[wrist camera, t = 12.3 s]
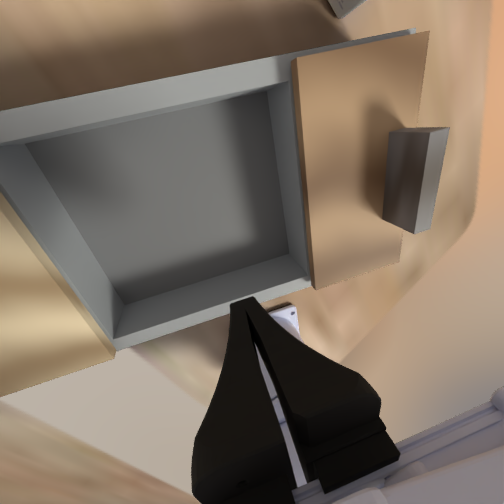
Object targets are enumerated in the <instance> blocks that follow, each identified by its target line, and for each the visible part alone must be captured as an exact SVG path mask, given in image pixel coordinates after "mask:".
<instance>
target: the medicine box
mask: <svg viewBox="0 0 504 504" xmlns="http://www.w3.org/2000/svg"><path fill="white" fill-rule="evenodd" d="M365 1H366V0H328V2H329V3H330V5H331V7H332V9H333V10H334V12H335V14H336V16H337V17H338V19H342V18H343V17H345V16H346V15H347V14H349V13H350V12H351V11H353V10H354V9H355V8H357V7H358V6H359V5H361V4H362V3H364V2H365Z"/></svg>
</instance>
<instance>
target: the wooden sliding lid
mask: <svg viewBox="0 0 504 504" xmlns="http://www.w3.org/2000/svg"><path fill="white" fill-rule="evenodd" d="M429 33H430V31H425V32H420V33H415V34H410V35H405V36H400V37H395V38H390V39H385V40H381V41H376V42H371V43H366V44H361V45H356V46H351V47H346V48H341V49H336V50H331V51H326V52H322V53H317V54H312V55H307V56H302V57H297V58H295V59H294V60H292V61H291V71H292V82H293V93H294V104H295V115H296V126H297V136H298V147H299V158H300V169H301V180H302V191H303V201H304V212H305V223H306V234H307V245H308V255H309V266H310V277H311V285H312V286H313V288H314V289H315V290H318V289H321V288H324V287H327V286H330V285H333V284H336V283H339V282H342V281H345V280H348V279H351V278H354V277H357V276H360V275H363V274H366V273H368V272H371V271H374V270H377V269H380V268H383V267H386V266H389V265H392V264H395V263H398V262H399V259H400V252H401V244H402V237H403V229H404V230H406V231H408V232H411V233H413V234H416V233H419V232H422V231H425V230H429V229H430V227H431V222H432V217H433V211H434V206H435V201H436V196H437V191H438V186H439V180H440V175H441V170H442V165H443V160H444V155H445V149H446V144H447V139H448V134H449V129H450V127H428V128H417V123H418V116H419V108H420V101H421V93H422V85H423V78H424V70H425V63H426V55H427V48H428V40H429Z"/></svg>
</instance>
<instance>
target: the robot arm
mask: <svg viewBox="0 0 504 504" xmlns="http://www.w3.org/2000/svg"><path fill="white" fill-rule="evenodd" d="M229 306H230V327H229V337H228V343H227V349H226V354H225V359H224V363H223V367H222V371H221V374H220V377H219V380H218V384H217V387H216V390H215V392H214V395H213V398H212V400H211V403H210V405H209V408H208V410H207V413H206V415H205V418H204V420H203V422H202V424H201V426H200V428H199V431H198V433H197V435H196V437H195V441H194V447H193V456H192V467H191V476H192V477H191V478H192V493H193V495H194V497H195V498H196V499H197V500H198V501H199V502H200V503H201V504H504V386H503V387H501V388H499V389H497V390H496V391H495V392H494V393H493V394H492V396H491V398H490V401H489V402H486V403H484V404H482V405H480V406H477V407H475V408H473V409H471V410H469V411H466V412H464V413H462V414H460V415H458V416H455V417H453V418H451V419H449V420H446V421H444V422H442V423H440V424H438V425H436V426H433V427H431V428H429V429H427V430H424V431H422V432H420V433H418V434H416V435H413V436H411V437H409V438H407V439H404V440H402V441H400V442H398V443H396V444H394V443H393V441H392V440H391V438H390V437H389V435H388V434H387V432H386V431H385V430H386V426H385V425H384V423H383V422H382V420H381V419H380V417H379V413H380V408H381V398H380V397H379V396H378V394H377V392H376V391H375V390H374V389H373V388H372V387H371V385H370V384H369V383H368V382H367V381H366V380H365V379H364V378H363V377H362V376H361V375H360V374H359V373H357V372H355V371H353V370H351V369H349V368H346V367H344V366H342V365H340V364H338V363H336V362H334V361H332V360H330V359H329V358H327V357H325V356H323V355H322V354H320V353H318V352H317V351H315V350H313V349H312V348H310V347H308V346H307V345H305V344H304V342H303V340H302V338H301V336H300V333H299V326H298V319H297V312H296V307H295V306H294V305H289V306H286V307H283V308H280V309H277V310H274V311H271V312H269V313H267V312H266V311H265V309H264V308H263V307H262V306H261V305H260V304H259V302H258V301H257V300H256V298H255V297H254V296H251V297H248V298H245V299H242V300H239V301H236V302H233V303H231V304H230V305H229ZM291 312H292V313H291Z"/></svg>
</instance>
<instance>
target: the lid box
mask: <svg viewBox="0 0 504 504" xmlns="http://www.w3.org/2000/svg"><path fill="white" fill-rule="evenodd" d="M415 32H416V28H412V29H407V30H402V31H397V32H392V33H387V34H382V35H377V36H372V37H367V38H362V39H357V40H352V41H347V42H342V43H337V44H332V45H327V46H322V47H317V48H312V49H307V50H302V51H297V52H292V53H287V54H282V55H277V56H272V57H267V58H262V59H257V60H252V61H247V62H243V63H238V64H233V65H228V66H223V67H218V68H213V69H208V70H203V71H198V72H193V73H188V74H183V75H178V76H173V77H168V78H163V79H158V80H153V81H148V82H143V83H138V84H133V85H128V86H123V87H118V88H113V89H108V90H103V91H98V92H93V93H88V94H83V95H78V96H73V97H68V98H63V99H58V100H53V101H48V102H43V103H38V104H33V105H28V106H23V107H18V108H13V109H8V110H3V111H0V192H1V193H2V194H3V196H4V197H5V199H6V200H7V201H8V203H9V204H10V205H11V207H12V208H13V209H14V211H15V212H16V214H17V215H18V216H19V218H20V219H21V220H22V222H23V223H24V224H25V226H26V227H27V229H28V230H29V231H30V233H31V234H32V235H33V237H34V238H35V239H36V241H37V242H38V244H39V245H40V246H41V248H42V249H43V250H44V252H45V253H46V254H47V256H48V257H49V259H50V260H51V261H52V263H53V264H54V265H55V267H56V268H57V269H58V271H59V272H60V274H61V275H62V276H63V278H64V279H65V280H66V282H67V283H68V284H69V286H70V287H71V289H72V290H73V291H74V293H75V294H76V295H77V297H78V298H79V299H80V301H81V302H82V304H83V305H84V306H85V308H86V309H87V310H88V312H89V313H90V314H91V316H92V317H93V319H94V320H95V321H96V323H97V324H98V325H99V327H100V328H101V329H102V331H103V332H104V334H105V335H106V336H107V338H108V339H109V340H110V342H111V343H112V344H113V346H114V347H115V349H116V351H119V350H122V349H125V348H128V347H131V346H134V345H137V344H140V343H143V342H146V341H149V340H152V339H155V338H158V337H161V336H164V335H167V334H170V333H173V332H176V331H179V330H182V329H185V328H188V327H191V326H194V325H197V324H200V323H203V322H206V321H208V320H211V319H214V318H217V317H220V316H223V315H226V314H229V313H230V306H229V305H230V304H231V303H233V302H236V301H239V300H242V299H245V298H248V297H251V296H254V297H255V298H256V300H257V301H258V302H259V303H262V302H265V301H268V300H271V299H274V298H277V297H280V296H283V295H286V294H289V293H292V292H295V291H298V290H301V289H304V288H307V287H310V286H312V285H311V277H310V266H309V255H308V245H307V234H306V223H305V212H304V201H303V191H302V180H301V169H300V158H299V147H298V136H297V126H296V115H295V104H294V93H293V82H292V71H291V61H292V60H294V59H295V58H297V57H302V56H307V55H312V54H317V53H322V52H326V51H331V50H336V49H341V48H346V47H351V46H356V45H361V44H366V43H371V42H376V41H381V40H385V39H390V38H395V37H400V36H405V35H410V34H415Z"/></svg>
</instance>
